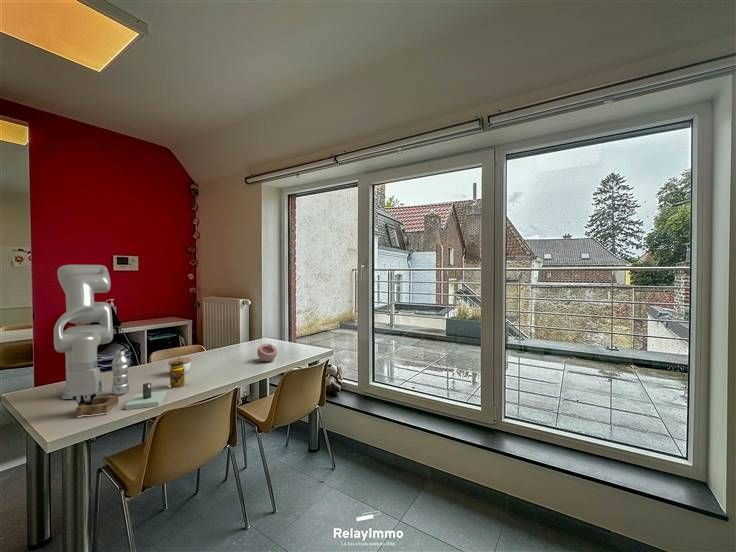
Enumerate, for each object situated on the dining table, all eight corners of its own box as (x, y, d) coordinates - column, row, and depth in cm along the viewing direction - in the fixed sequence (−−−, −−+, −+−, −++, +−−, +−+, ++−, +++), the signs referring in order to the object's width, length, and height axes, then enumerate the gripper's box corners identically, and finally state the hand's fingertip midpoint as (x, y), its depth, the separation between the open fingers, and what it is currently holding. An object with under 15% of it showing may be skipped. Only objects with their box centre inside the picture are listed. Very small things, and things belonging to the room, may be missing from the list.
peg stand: (125, 409, 130) (124, 390, 130) (136, 398, 141) (136, 380, 141) (158, 406, 134) (158, 387, 133) (167, 395, 145) (167, 378, 145)
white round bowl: (164, 375, 172) (164, 358, 172) (183, 369, 181) (183, 353, 181) (176, 378, 167) (176, 361, 167) (195, 372, 176) (195, 356, 176)
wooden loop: (76, 418, 123) (76, 407, 123) (89, 407, 132) (89, 397, 132) (107, 414, 126) (106, 404, 126) (118, 404, 135) (118, 395, 135)
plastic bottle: (127, 389, 151) (126, 348, 150) (131, 393, 147) (130, 350, 146) (109, 394, 146) (109, 351, 145) (113, 397, 142) (113, 353, 141)
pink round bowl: (266, 365, 191) (266, 346, 191) (253, 362, 197) (253, 343, 197) (281, 360, 201) (281, 342, 201) (268, 357, 208) (268, 340, 207)
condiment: (174, 390, 152) (173, 365, 151) (164, 386, 156) (164, 362, 155) (189, 385, 158) (188, 361, 158) (179, 382, 162) (179, 359, 162)
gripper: (54, 370, 121) (55, 417, 122) (103, 367, 126) (103, 412, 126) (66, 364, 128) (67, 409, 129) (112, 361, 133) (112, 404, 133)
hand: (85, 410), depth 128 cm, fingers closed on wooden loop, 1 cm apart
